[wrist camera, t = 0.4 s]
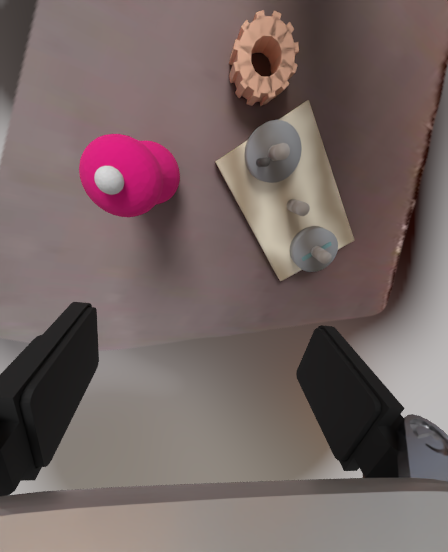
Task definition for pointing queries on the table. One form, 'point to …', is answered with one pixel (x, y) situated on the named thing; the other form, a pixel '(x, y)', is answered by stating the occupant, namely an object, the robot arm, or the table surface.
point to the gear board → (289, 193)
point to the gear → (273, 44)
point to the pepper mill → (128, 174)
